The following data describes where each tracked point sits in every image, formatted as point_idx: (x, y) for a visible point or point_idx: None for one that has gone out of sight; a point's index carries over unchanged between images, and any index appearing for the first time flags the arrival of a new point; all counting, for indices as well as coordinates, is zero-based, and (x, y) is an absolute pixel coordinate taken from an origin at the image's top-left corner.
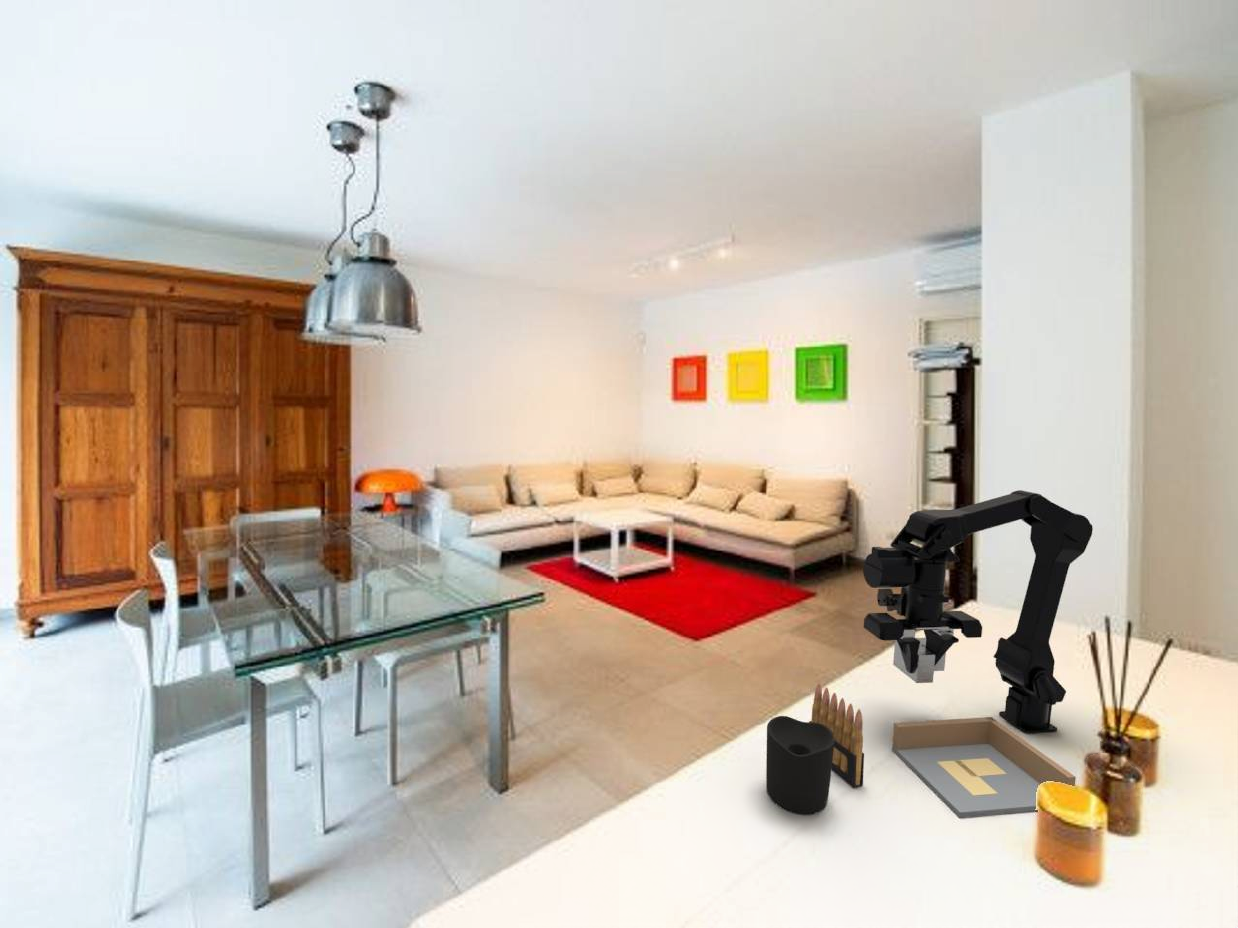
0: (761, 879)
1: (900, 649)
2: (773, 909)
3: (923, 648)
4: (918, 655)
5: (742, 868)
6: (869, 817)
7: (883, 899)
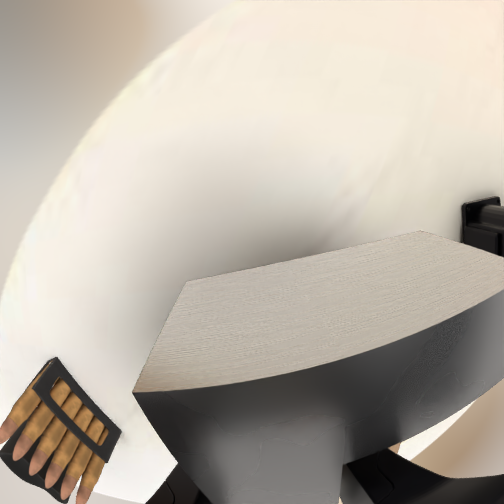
0: None
1: (157, 493)
2: (78, 485)
3: (323, 491)
4: None
5: None
6: (128, 461)
7: (138, 498)
